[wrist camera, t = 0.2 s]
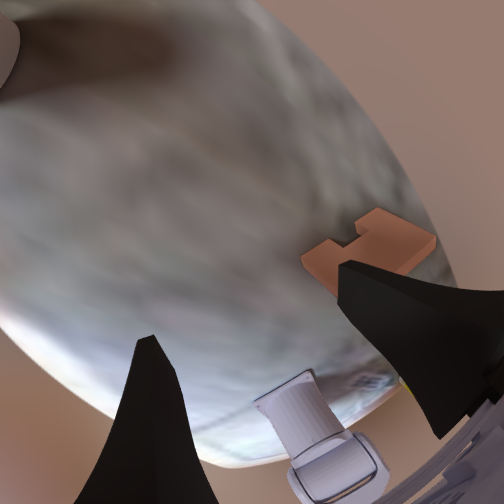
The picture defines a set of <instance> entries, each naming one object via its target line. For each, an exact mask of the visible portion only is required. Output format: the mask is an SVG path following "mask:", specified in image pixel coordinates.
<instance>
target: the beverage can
mask: <svg viewBox="0 0 504 504" xmlns="http://www.w3.org/2000/svg"><path fill="white" fill-rule="evenodd" d="M19 47H20V33H19V29H18V27H17V25H16V24H15V23H14V22H12V21H11V20H10V19H8V18H7V17H6V16H4V15H3V14H1V13H0V88H1V87H2V85H3V84H4V83H5V81H6V79H7V78H8V76H9V74H10V72H11V70H12V68H13V66H14V64H15V61H16V59H17V56H18V52H19Z"/></svg>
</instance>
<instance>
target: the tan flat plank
mask: <svg viewBox="0 0 504 504" xmlns="http://www.w3.org/2000/svg"><path fill="white" fill-rule="evenodd" d="M355 226H356V231H357V233H358V234H360V235H361V236H360V237H359V238H358V239H356V240H355V241H353V242H352V243H350V244H349V245H347V246H346V247H344V248H342V247H341V246H339V245H338V244H336V243H335V242H333V241H332V240H330V239H327V240H326V241H324V242H322V243H321V244H319V245H318V246H316V247H315V248H313V249H311V250H310V251H308V252H307V253H305V254H303V255H302V256H300V258H301V261H302V263H303V266H304V268H305V269H306V270H307V271H309V272H310V273H311V274H312V275H313V276H314V277H315V278H316V279H317V280H318V281H319V282H320V283H322V284H323V285H324V286H325V287H326V288H327V289H328V290H329V291H330V292H331V293H332V294H333V295H334V296H336V297H337V298H338V265H339V264H341V263H343V262H346V261H348V260H350V259H351V260H355V261H359V262H362V263H365V264H369V265H372V266H375V267H378V268H381V269H384V270H387V271H390V272H393V273H397V274H400V275H403V276H405V275H406V274H407V273H409V272H410V271H411V270H412V269H413V268H414V267H415V266H416V265H418V264H419V263H420V262H421V261H422V260H423V259H424V258H425V257H426V256H428V255H429V254H430V253H431V252H432V251H433V250H434V249H435V248H436V236H435V235H433V234H431V233H429V232H427V231H425V230H423V229H422V228H420V227H418V226H416V225H414V224H412V223H410V222H408V221H406V220H404V219H402V218H399V217H397V216H395V215H393V214H391V213H389V212H387V211H385V210H383V209H380V208H378V207H377V208H375V209H374V210H372V211H371V212H369V213H368V214H366V215H365V216H363V217H362V218H360V219H358V220H357V221H355Z"/></svg>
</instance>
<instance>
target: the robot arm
mask: <svg viewBox="0 0 504 504" xmlns="http://www.w3.org/2000/svg"><path fill="white" fill-rule="evenodd" d="M337 304H338V306H339V307H340V309H341V310H342V311H343V313H344V314H345V316H346V317H347V318H348V319H349V321H350V322H351V323H352V324H353V325H354V326H355V327H356V328H357V329H358V330H359V331H360V332H361V333H362V334H363V336H364V337H365V338H366V339H367V340H368V341H369V342H370V343H371V344H372V345H373V346H374V347H375V348H376V349H377V350H378V351H379V352H380V353H381V354H382V355H383V356H384V357H385V358H386V359H387V360H388V361H389V362H390V363H391V365H392V366H393V367H394V369H395V370H396V371H397V372H398V374H399V375H400V376H401V378H402V379H403V381H404V382H405V383H406V385H407V386H408V388H409V389H410V391H411V392H412V394H413V395H414V397H415V399H416V400H417V402H418V404H419V405H420V407H421V409H422V410H423V412H424V414H425V416H426V418H427V420H428V422H429V424H430V426H431V428H432V430H433V433H434V434H435V435H436V436H437V438H438V439H440V440H441V438H443V437H444V436H445V435H446V434H447V433H448V432H449V431H450V430H451V429H452V428H453V427H454V426H455V425H456V424H457V423H458V422H459V421H460V420H461V419H462V418H463V417H464V416H465V415H466V414H467V415H468V416H469V417H470V419H469V420H468V421H467V422H466V424H465V425H464V426H463V427H462V428H461V429H460V430H459V431H458V432H457V433H456V434H455V435H454V436H453V438H451V439H450V440H449V441H448V442H447V443H446V444H445V446H443V447H442V448H441V449H440V450H439V451H438V452H437V453H436V454H435V455H434V456H433V457H432V458H431V459H429V460H428V461H427V462H426V463H425V464H424V465H423V466H421V467H420V468H419V469H418V470H417V471H416V472H414V473H413V474H412V475H410V476H409V477H408V478H406V479H405V480H404V481H403V482H401V483H400V484H399V485H397V486H396V487H394V488H393V489H392V490H390V491H389V492H388V493H386V494H385V495H383V492H384V490H385V488H386V486H387V484H388V482H389V479H390V476H391V475H390V469H389V468H388V466H387V465H386V463H385V462H384V460H383V457H382V455H381V453H380V452H379V450H378V448H377V447H376V446H375V444H374V443H373V442H372V441H371V439H369V437H368V436H367V435H365V434H364V433H363V432H358V431H355V432H353V433H351V432H350V431H349V430H348V429H347V430H345V428H344V427H343V426H342V424H341V423H340V422H339V420H338V419H337V417H336V416H335V415H334V413H333V412H332V411H331V409H330V408H329V406H328V405H327V404H326V402H325V401H324V399H323V398H322V395H321V393H320V391H319V389H318V386H317V384H316V382H315V380H314V378H313V376H312V374H311V373H310V371H306V372H304V373H303V374H301V375H299V376H298V377H296V378H295V379H293V380H291V381H290V382H288V383H286V384H285V385H283V386H281V387H279V388H278V389H276V390H274V391H273V392H271V393H269V394H267V395H265V396H264V397H262V398H260V399H258V400H256V401H255V402H253V406H254V407H255V408H256V409H257V410H258V411H260V412H261V413H262V414H263V415H264V416H265V417H267V418H268V419H269V420H270V422H271V424H272V426H273V428H274V429H275V431H276V433H277V435H278V437H279V439H280V440H281V442H282V444H283V446H284V448H285V449H286V451H287V453H288V455H289V456H290V458H291V460H292V461H291V462H290V463H291V464H292V466H293V467H291V468H289V469H288V473H287V478H288V481H289V483H290V485H291V487H292V489H293V491H294V492H295V494H296V495H297V497H298V498H299V499H300V501H301V502H302V503H303V504H403V503H404V502H405V501H406V500H408V499H409V498H410V497H412V496H413V495H414V494H416V493H417V492H418V491H419V490H421V489H422V488H423V487H424V486H425V485H427V484H428V483H429V482H430V481H431V480H432V479H433V478H434V477H436V476H437V475H438V474H439V473H440V472H441V471H442V470H443V469H444V468H445V467H446V466H447V465H448V464H449V463H450V462H451V461H452V460H453V459H454V458H455V457H456V456H457V455H458V454H459V453H460V452H461V451H462V450H463V449H464V448H465V447H466V446H467V444H468V443H469V442H470V441H472V444H471V445H470V446H469V447H468V448H466V449H465V450H464V451H463V452H462V453H461V454H459V455H458V456H457V457H456V458H455V459H454V460H453V461H452V462H451V463H450V464H449V465H448V467H447V468H446V469H445V471H444V472H443V473H442V475H443V476H444V478H443V479H442V480H441V481H440V482H438V483H437V484H436V485H435V486H434V487H432V488H431V489H430V490H429V491H427V492H426V493H425V494H423V495H422V496H421V497H419V498H418V499H417V500H415V501H414V502H413V503H411V504H504V290H502V291H481V290H469V289H459V288H453V287H447V286H442V285H437V284H432V283H428V282H424V281H421V280H417V279H413V278H410V277H406V276H403V275H400V274H397V273H393V272H390V271H387V270H384V269H381V268H378V267H375V266H372V265H369V264H365V263H362V262H359V261H355V260H351V259H350V260H348V261H346V262H343V263H341V264H339V265H338V302H337ZM371 475H372V476H371ZM369 476H371V478H370V479H369V480H368V481H367V482H365V483H364V484H362V485H360V486H359V487H357V488H356V489H354V490H352V491H350V492H349V493H347V494H345V495H344V496H342V497H340V498H338V499H336V500H334V501H332V502H329V503H324V502H326V501H328V500H330V499H332V498H334V497H335V496H337V495H339V494H341V493H343V492H345V491H346V490H348V489H350V488H351V487H353V486H355V485H357V484H358V483H360V482H361V481H363V480H365V479H366V478H368V477H369ZM382 495H383V496H382ZM74 504H219V503H218V501H217V499H216V497H215V495H214V493H213V491H212V488H211V486H210V484H209V482H208V480H207V477H206V475H205V473H204V471H203V468H202V466H201V463H200V461H199V458H198V455H197V452H196V449H195V446H194V442H193V438H192V434H191V430H190V426H189V421H188V417H187V412H186V408H185V403H184V399H183V394H182V391H181V388H180V385H179V381H178V378H177V375H176V372H175V369H174V368H173V366H172V365H171V363H170V361H169V360H168V358H167V356H166V355H165V353H164V351H163V350H162V348H161V346H160V344H159V343H158V341H157V339H156V337H155V336H154V335H151V336H148V337H145V338H142V339H138V341H137V343H136V347H135V351H134V355H133V359H132V362H131V366H130V370H129V374H128V377H127V381H126V384H125V388H124V391H123V395H122V398H121V401H120V404H119V407H118V410H117V414H116V417H115V420H114V423H113V425H112V428H111V431H110V433H109V436H108V439H107V441H106V443H105V445H104V448H103V450H102V452H101V455H100V457H99V459H98V461H97V463H96V465H95V467H94V469H93V471H92V473H91V475H90V477H89V478H88V480H87V482H86V484H85V486H84V488H83V489H82V491H81V493H80V494H79V496H78V498H77V499H76V501H75V502H74Z"/></svg>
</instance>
